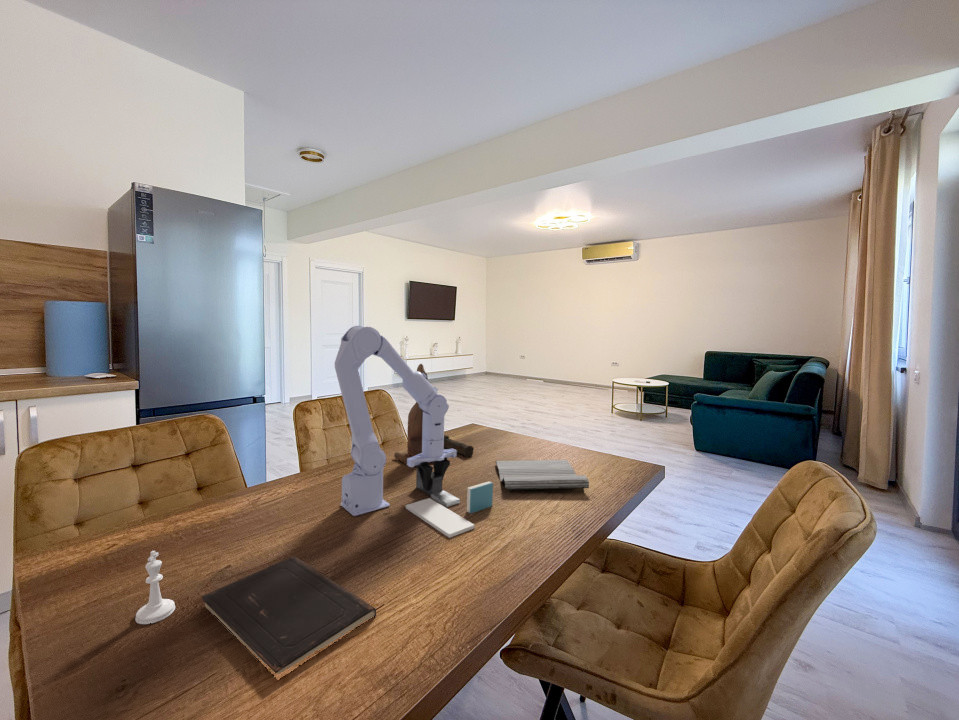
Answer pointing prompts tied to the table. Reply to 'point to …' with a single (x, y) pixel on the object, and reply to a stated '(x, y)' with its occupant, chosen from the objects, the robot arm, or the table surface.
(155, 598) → the chess piece
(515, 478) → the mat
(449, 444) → the hand tool
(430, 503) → the board
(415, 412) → the bird sculpture
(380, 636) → the table surface
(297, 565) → the hardcover book
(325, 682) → the table surface
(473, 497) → the tile
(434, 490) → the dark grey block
